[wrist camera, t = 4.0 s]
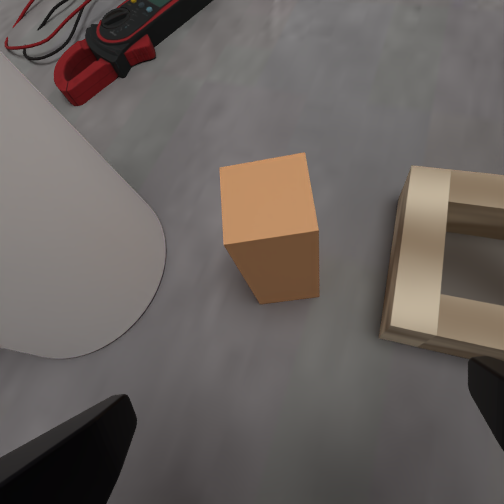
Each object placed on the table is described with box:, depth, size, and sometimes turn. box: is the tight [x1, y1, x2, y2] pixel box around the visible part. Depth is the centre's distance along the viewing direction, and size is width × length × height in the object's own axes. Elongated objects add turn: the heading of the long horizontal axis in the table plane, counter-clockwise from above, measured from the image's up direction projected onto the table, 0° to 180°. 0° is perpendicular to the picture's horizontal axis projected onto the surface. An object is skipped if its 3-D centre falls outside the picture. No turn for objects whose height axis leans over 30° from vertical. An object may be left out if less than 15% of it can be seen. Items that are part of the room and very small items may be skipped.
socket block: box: [379, 166, 504, 361], centre depth 20 cm, size 10×10×4 cm
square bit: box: [220, 152, 319, 304], centre depth 20 cm, size 4×4×10 cm
